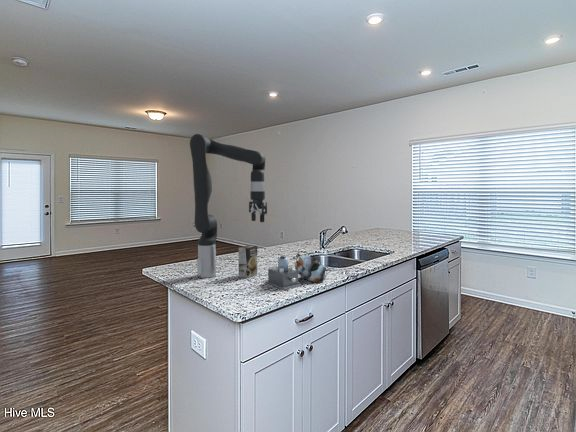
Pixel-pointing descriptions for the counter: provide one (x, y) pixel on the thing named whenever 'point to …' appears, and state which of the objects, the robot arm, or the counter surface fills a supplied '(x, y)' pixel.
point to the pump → (283, 263)
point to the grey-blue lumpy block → (309, 268)
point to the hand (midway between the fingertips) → (257, 221)
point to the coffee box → (247, 261)
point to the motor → (283, 278)
